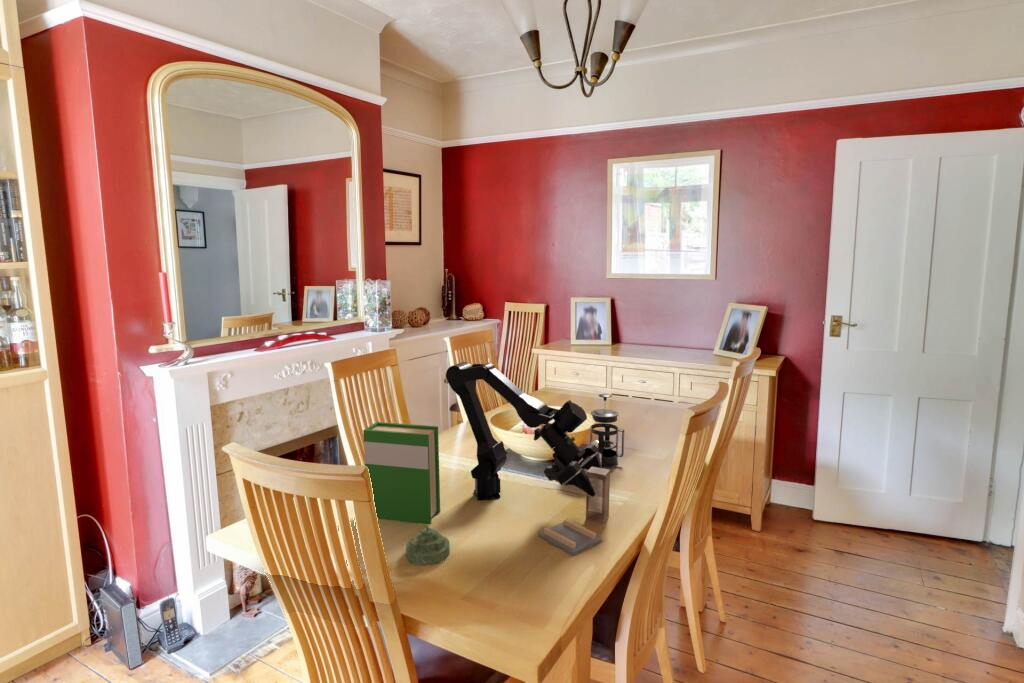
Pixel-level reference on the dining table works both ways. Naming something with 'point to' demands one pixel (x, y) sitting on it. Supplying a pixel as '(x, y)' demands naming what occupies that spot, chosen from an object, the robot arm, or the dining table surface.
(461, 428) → the dining table surface
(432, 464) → the hardback book
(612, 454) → the french press
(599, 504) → the wooden block
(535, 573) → the dining table surface
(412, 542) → the decorative artifact
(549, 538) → the grey stand base
